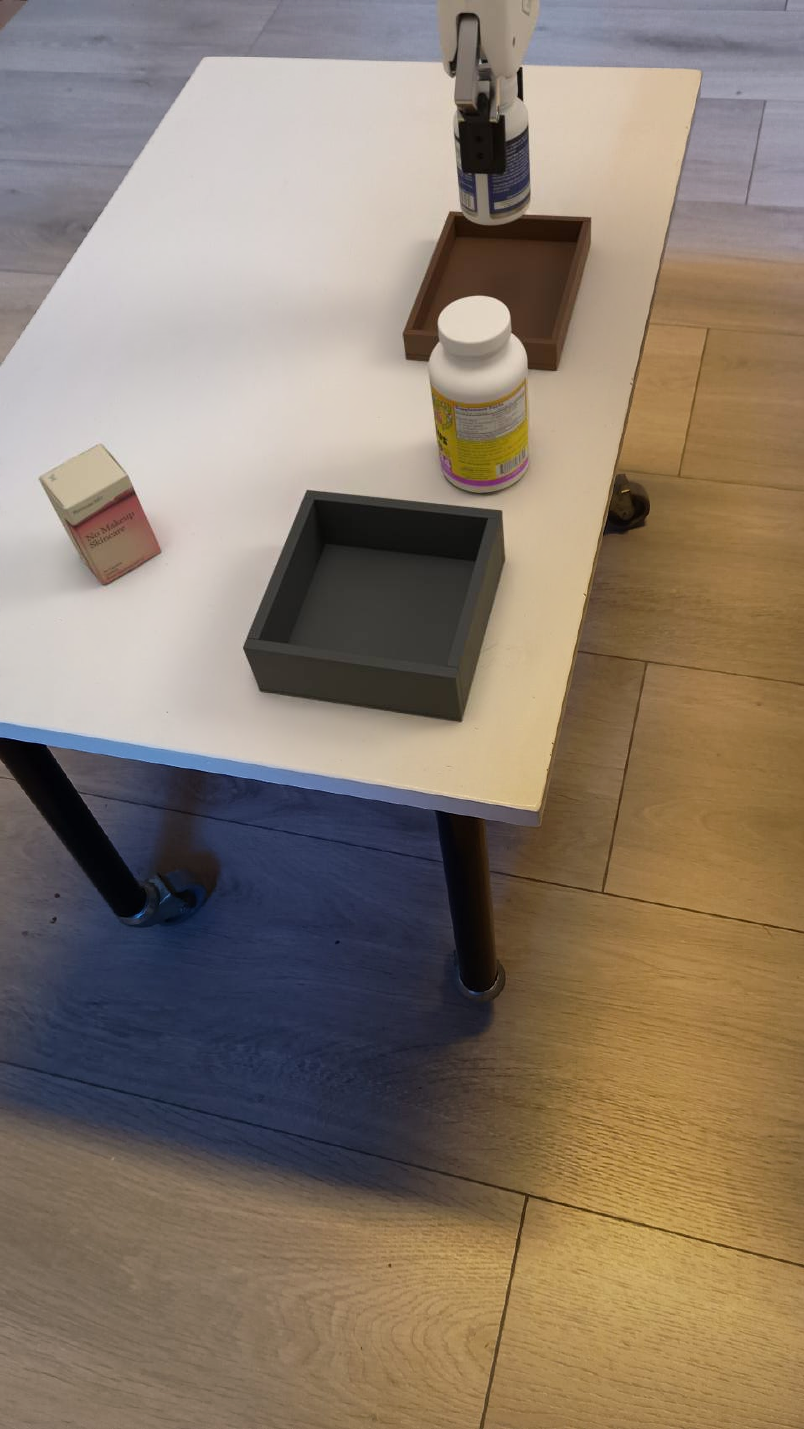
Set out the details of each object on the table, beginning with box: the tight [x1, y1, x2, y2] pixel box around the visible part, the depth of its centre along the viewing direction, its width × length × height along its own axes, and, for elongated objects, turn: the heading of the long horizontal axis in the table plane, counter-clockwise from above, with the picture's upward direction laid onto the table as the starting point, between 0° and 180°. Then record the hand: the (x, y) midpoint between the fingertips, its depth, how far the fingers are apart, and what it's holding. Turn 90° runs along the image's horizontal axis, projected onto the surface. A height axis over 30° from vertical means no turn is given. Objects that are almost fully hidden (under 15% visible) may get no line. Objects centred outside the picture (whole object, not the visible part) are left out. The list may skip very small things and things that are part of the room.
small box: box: [38, 443, 162, 585], centre depth 78 cm, size 5×4×8 cm
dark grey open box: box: [242, 489, 506, 723], centre depth 73 cm, size 14×14×5 cm
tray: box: [402, 210, 592, 371], centre depth 91 cm, size 16×12×2 cm
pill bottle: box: [452, 63, 532, 225], centre depth 81 cm, size 5×5×10 cm
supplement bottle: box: [427, 296, 531, 494], centre depth 76 cm, size 7×7×13 cm
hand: (493, 144), depth 81 cm, fingers closed on pill bottle, 5 cm apart
